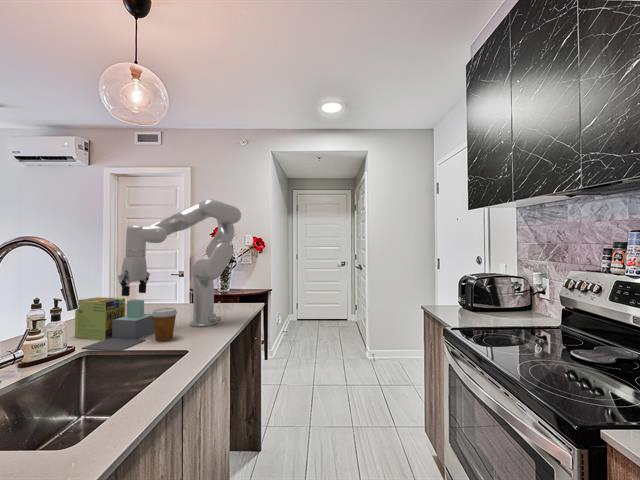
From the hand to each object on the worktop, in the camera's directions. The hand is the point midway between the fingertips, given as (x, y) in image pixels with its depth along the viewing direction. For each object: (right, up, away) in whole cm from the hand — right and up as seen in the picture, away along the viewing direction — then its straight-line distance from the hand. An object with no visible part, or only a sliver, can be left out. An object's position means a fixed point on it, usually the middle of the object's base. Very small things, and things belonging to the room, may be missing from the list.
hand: (134, 294), depth 141 cm
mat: (0, -17, -13) cm, 22 cm away
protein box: (-14, -18, 0) cm, 23 cm away
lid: (0, -11, 0) cm, 11 cm away
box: (0, -18, 0) cm, 18 cm away
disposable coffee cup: (+16, -18, -6) cm, 24 cm away
